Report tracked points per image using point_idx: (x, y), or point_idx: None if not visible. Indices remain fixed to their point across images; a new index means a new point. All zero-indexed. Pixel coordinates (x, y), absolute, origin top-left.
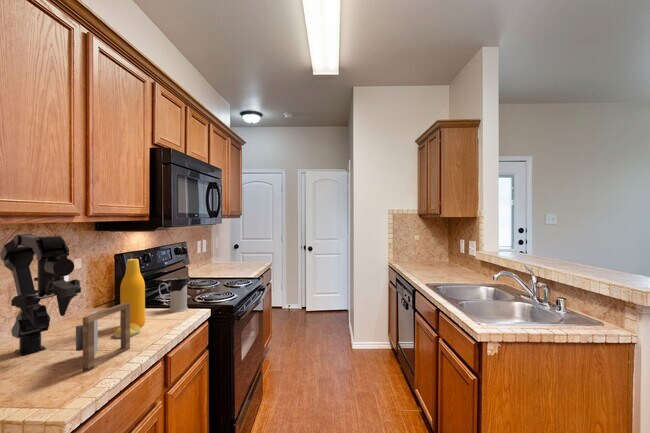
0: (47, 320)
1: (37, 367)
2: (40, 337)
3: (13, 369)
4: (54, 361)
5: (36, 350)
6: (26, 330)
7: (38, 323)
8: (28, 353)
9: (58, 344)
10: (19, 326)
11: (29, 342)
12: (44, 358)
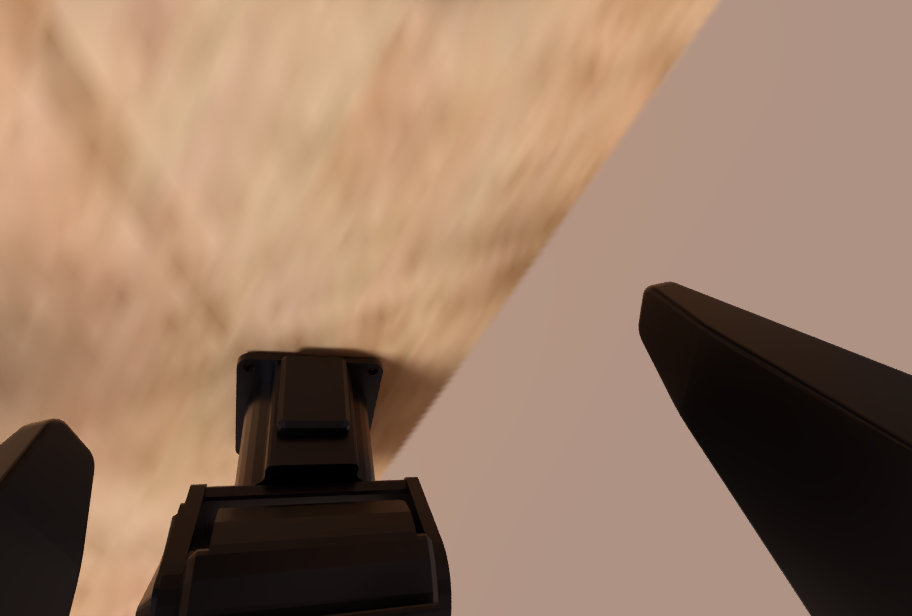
0: (203, 558)
1: (487, 29)
2: (256, 445)
3: (547, 183)
4: (352, 5)
5: (305, 355)
6: (391, 502)
7: (301, 541)
8: (349, 359)
9: (135, 364)
10: (444, 557)
11: (349, 416)
12: (347, 176)
